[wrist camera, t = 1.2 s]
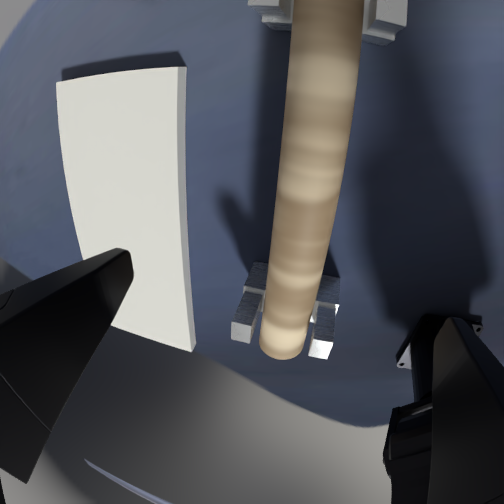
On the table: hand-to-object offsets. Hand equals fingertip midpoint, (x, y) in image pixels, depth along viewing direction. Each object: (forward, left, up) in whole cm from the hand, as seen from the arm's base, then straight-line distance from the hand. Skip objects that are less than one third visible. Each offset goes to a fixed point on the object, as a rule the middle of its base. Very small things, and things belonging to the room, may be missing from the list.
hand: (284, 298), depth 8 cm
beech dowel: (0, 0, -8) cm, 8 cm away
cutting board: (-7, +14, -13) cm, 20 cm away
